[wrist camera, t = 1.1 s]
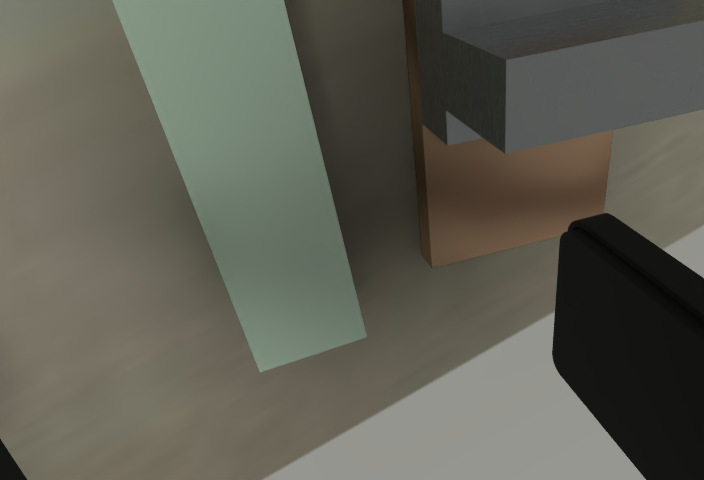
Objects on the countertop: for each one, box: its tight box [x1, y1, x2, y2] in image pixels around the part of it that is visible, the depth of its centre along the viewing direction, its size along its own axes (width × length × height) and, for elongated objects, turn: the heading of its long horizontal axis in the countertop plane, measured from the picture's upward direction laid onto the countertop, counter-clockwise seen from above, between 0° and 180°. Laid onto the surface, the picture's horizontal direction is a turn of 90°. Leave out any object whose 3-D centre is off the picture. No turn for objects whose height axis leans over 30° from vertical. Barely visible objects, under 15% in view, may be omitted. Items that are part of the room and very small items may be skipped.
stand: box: [403, 0, 704, 268], centre depth 22 cm, size 22×10×10 cm, turn 8°
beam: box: [112, 0, 367, 372], centre depth 22 cm, size 22×5×6 cm, turn 12°
